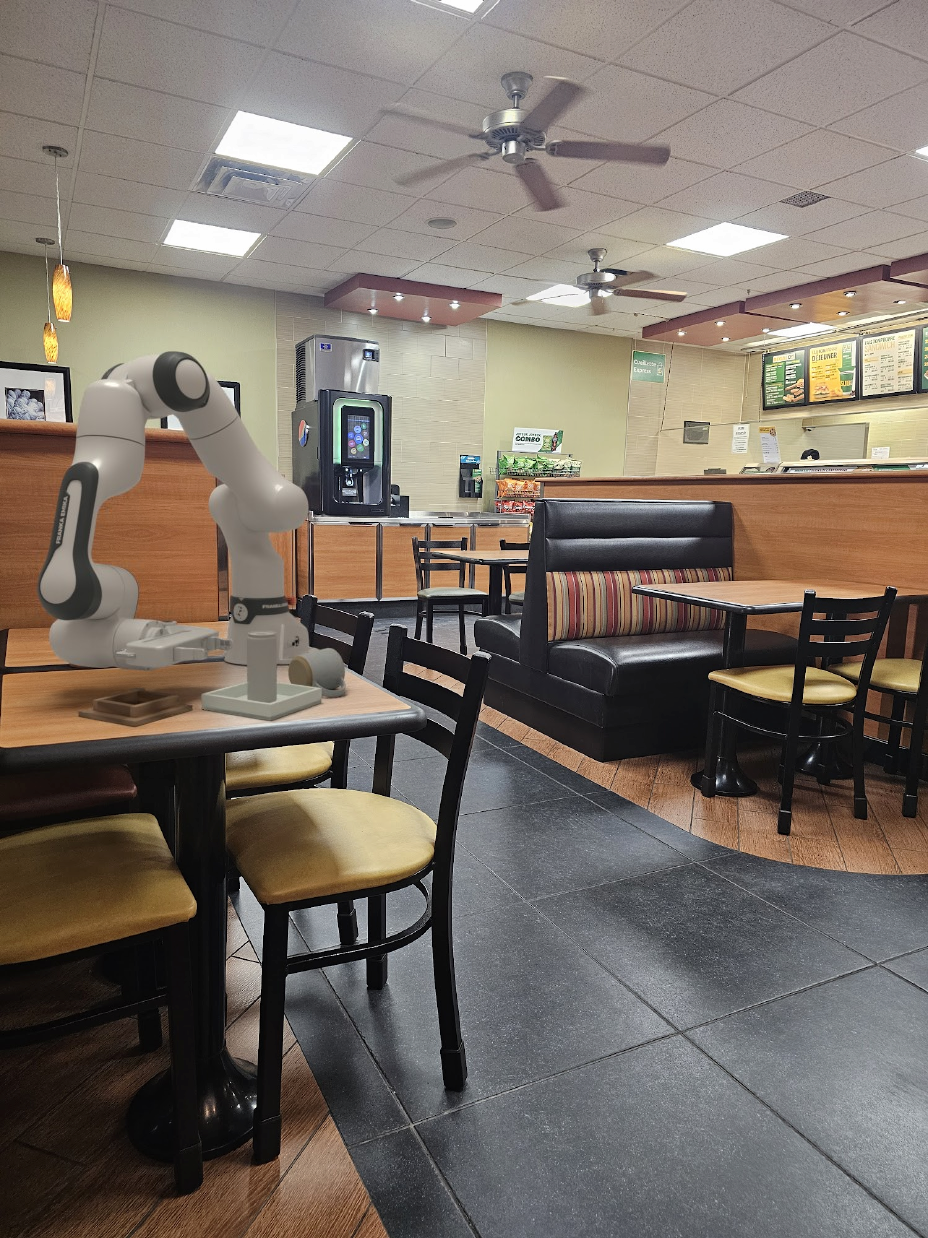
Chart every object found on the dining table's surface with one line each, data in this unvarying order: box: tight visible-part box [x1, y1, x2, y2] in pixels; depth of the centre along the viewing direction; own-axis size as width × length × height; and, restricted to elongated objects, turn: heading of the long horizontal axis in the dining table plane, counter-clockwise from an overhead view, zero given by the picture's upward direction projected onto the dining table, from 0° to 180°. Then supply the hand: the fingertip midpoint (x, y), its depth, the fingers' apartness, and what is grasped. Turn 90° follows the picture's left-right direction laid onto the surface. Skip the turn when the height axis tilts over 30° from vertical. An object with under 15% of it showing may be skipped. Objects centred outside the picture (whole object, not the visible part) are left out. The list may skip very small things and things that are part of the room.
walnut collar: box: [77, 687, 194, 728], centre depth 126 cm, size 12×12×2 cm
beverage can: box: [246, 631, 278, 703], centre depth 132 cm, size 5×5×12 cm
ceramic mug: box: [287, 647, 346, 698], centre depth 144 cm, size 11×8×8 cm
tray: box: [201, 681, 323, 722], centre depth 133 cm, size 14×14×3 cm
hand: (219, 649), depth 134 cm, fingers open, 8 cm apart
